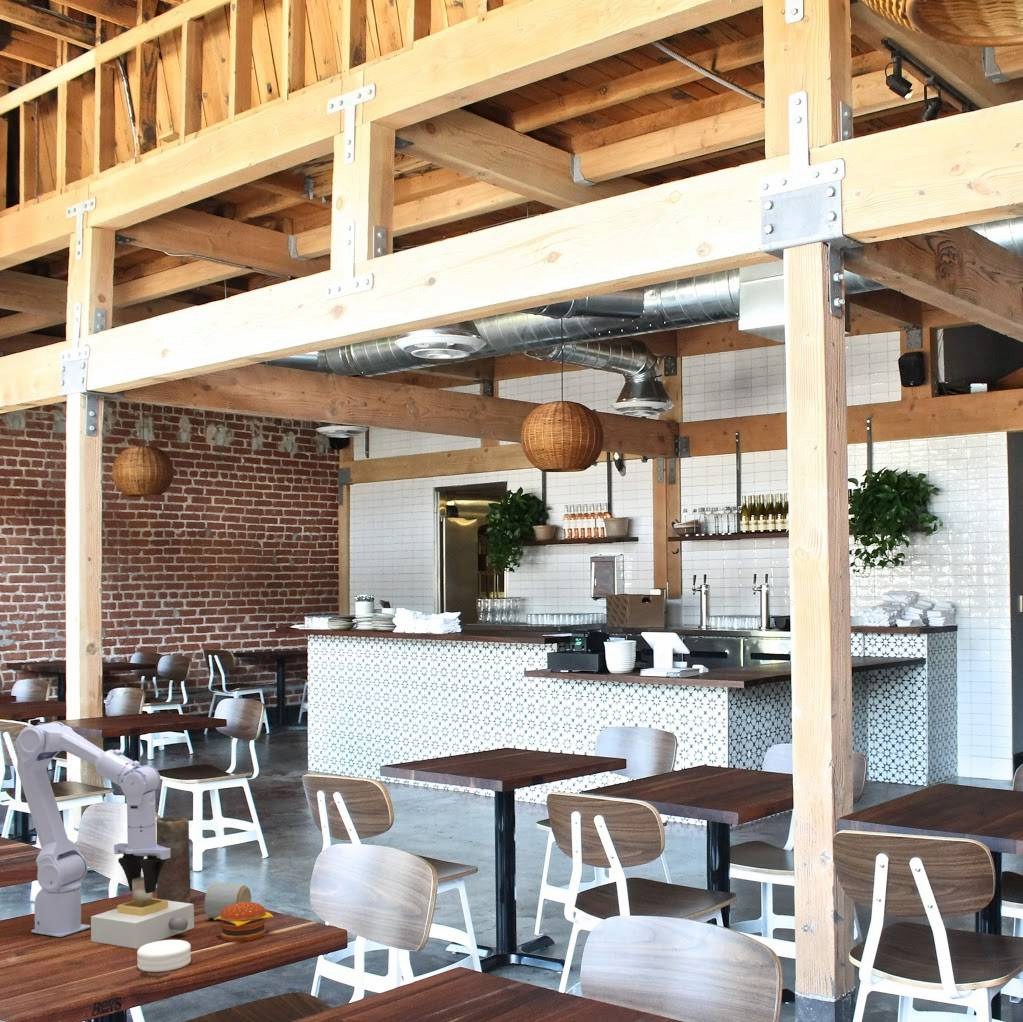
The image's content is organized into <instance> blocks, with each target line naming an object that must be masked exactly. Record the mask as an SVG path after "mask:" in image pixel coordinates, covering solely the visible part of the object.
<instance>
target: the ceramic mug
mask: <svg viewBox="0 0 1023 1022" xmlns="http://www.w3.org/2000/svg"><path fill="white" fill-rule="evenodd" d="M240 902H252V893H251V890H250V888H249V887H248V886H246V885H244V884H241V883H240V884H239V883H230V882H223V881H212V882H211V883H210V884H209V886H208V887H207V889H206V893H205V896H204V912H205V915H206V917H207V918H209V919H214V918H217V917H219V916H220V914H221V911H222V910H223V909H224V908H226V907H228V906H230V905H232V904H235V903H240Z"/></svg>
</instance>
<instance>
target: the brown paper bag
mask: <svg viewBox="0 0 1023 1022" xmlns="http://www.w3.org/2000/svg"><path fill="white" fill-rule="evenodd" d="M189 822H190V821H189V819H188V818H185V817H172V816H162V817H158V818H157V817H156V845H159V846H162V847H165V848H170V858H167V859H166V861H165V863H164V865H163V867H162V869H161V871H160V874H159V877H158V881H157V885H156V899H161V900H168V901H175V902H183V903H190V902H191V898H192V896H191V866H190V863H191V861H190V824H189Z"/></svg>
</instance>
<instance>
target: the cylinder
mask: <svg viewBox="0 0 1023 1022" xmlns="http://www.w3.org/2000/svg"><path fill="white" fill-rule="evenodd" d="M131 892H132V901H133V900H134V901H144V900H149V899H151V898H153V895H154V894H153V892H151V893H146V892H145V886H144V876H141V877H138V878H134V879H133V880H132V891H131Z"/></svg>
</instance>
